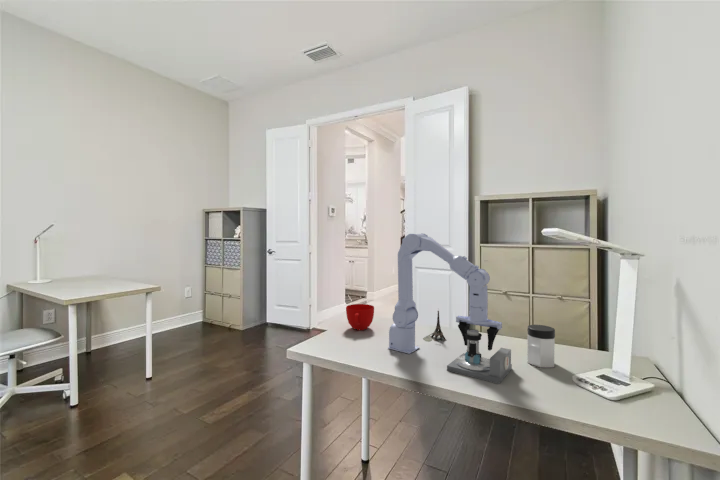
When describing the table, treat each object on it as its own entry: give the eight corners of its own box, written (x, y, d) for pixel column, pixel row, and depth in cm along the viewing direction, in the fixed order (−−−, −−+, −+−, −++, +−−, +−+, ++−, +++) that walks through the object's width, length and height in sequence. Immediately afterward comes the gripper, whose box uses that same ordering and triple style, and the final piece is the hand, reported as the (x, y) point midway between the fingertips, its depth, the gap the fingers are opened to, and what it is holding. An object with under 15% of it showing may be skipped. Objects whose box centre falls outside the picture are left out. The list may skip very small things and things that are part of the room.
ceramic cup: (341, 334, 146) (341, 311, 146) (349, 324, 163) (349, 303, 163) (371, 335, 144) (371, 312, 144) (375, 325, 161) (375, 304, 160)
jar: (547, 358, 118) (547, 324, 117) (561, 368, 109) (561, 331, 109) (521, 358, 118) (521, 324, 117) (533, 367, 110) (533, 331, 109)
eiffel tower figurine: (434, 333, 149) (434, 303, 149) (456, 337, 143) (456, 306, 143) (417, 342, 138) (417, 309, 137) (441, 347, 131) (441, 313, 131)
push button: (487, 361, 110) (488, 331, 109) (482, 366, 105) (483, 335, 105) (467, 357, 114) (467, 327, 113) (462, 362, 109) (462, 331, 109)
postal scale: (446, 370, 108) (447, 350, 108) (463, 357, 119) (463, 339, 119) (500, 384, 98) (501, 362, 97) (513, 369, 109) (513, 349, 108)
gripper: (504, 307, 110) (504, 348, 110) (461, 301, 119) (461, 339, 119) (498, 311, 104) (498, 354, 105) (453, 304, 113) (453, 345, 114)
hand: (478, 347), depth 112 cm, fingers open, 7 cm apart
